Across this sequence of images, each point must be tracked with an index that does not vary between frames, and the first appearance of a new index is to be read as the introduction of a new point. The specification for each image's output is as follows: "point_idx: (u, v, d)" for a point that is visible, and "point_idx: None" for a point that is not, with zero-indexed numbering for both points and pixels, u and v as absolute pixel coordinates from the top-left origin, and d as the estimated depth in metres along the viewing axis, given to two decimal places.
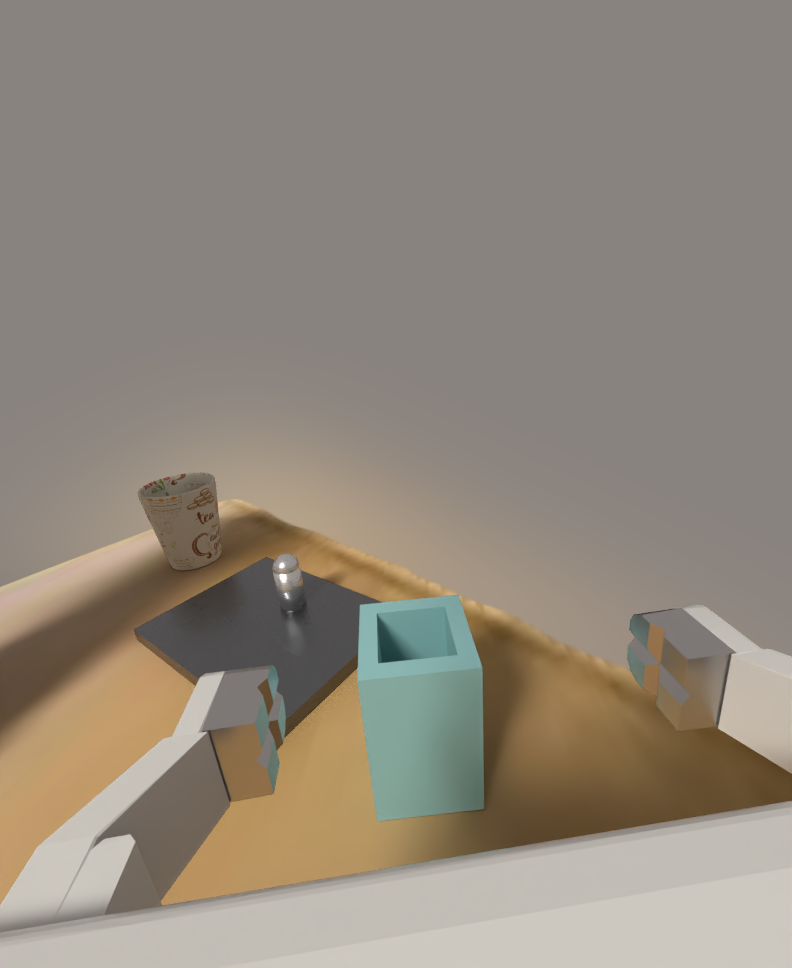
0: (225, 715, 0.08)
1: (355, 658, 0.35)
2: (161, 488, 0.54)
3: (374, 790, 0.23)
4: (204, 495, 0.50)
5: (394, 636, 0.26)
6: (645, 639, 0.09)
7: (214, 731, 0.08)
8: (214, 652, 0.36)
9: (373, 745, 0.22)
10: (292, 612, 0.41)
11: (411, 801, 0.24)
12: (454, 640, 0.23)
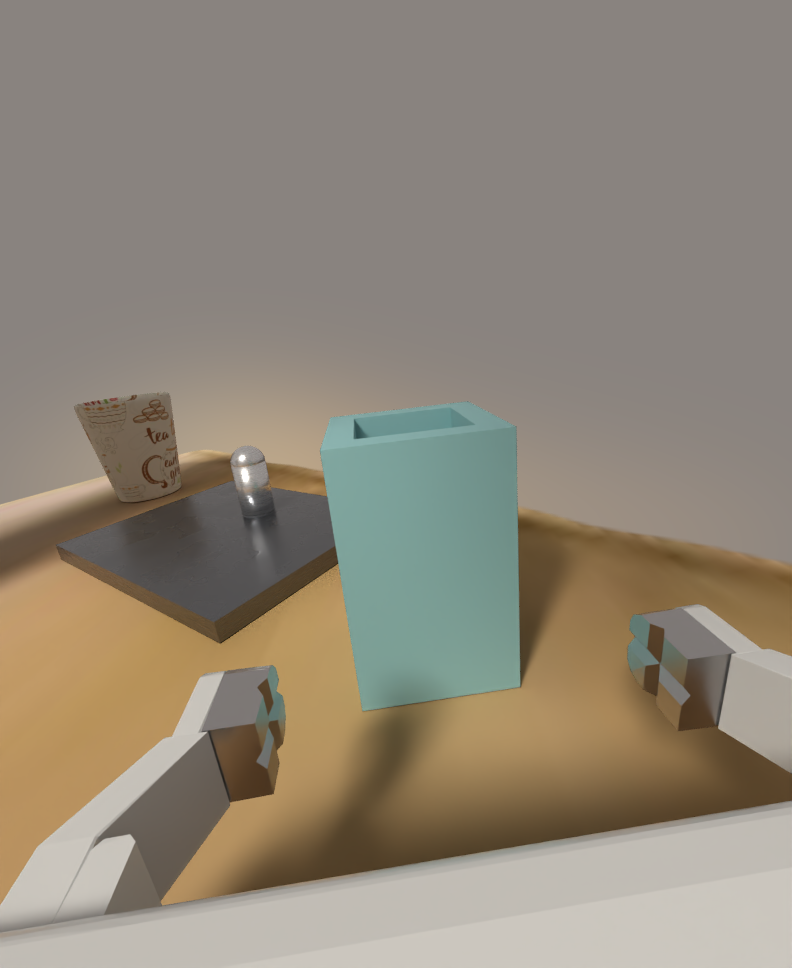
0: (225, 715, 0.08)
1: (335, 549, 0.27)
2: None
3: (356, 656, 0.15)
4: (155, 408, 0.42)
5: None
6: (645, 639, 0.09)
7: (214, 731, 0.08)
8: (153, 555, 0.28)
9: (350, 573, 0.14)
10: (257, 518, 0.33)
11: (412, 674, 0.16)
12: (468, 419, 0.15)
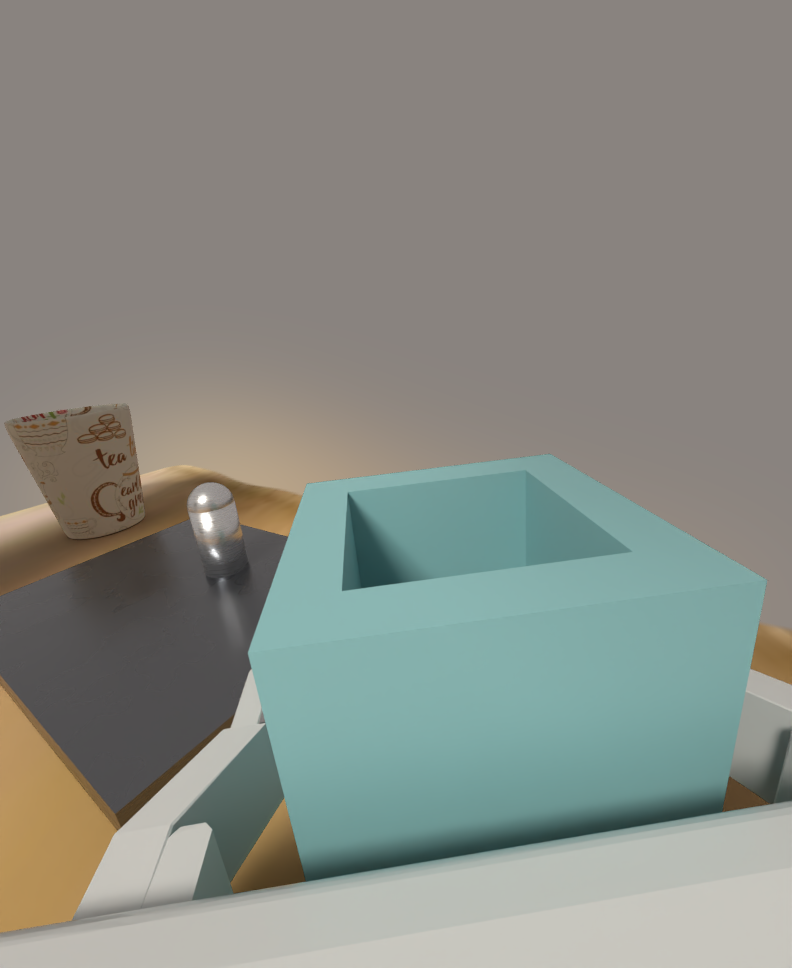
0: None
1: None
2: None
3: None
4: (107, 424, 0.34)
5: (396, 558, 0.10)
6: None
7: None
8: (68, 645, 0.20)
9: None
10: (223, 579, 0.25)
11: None
12: (594, 522, 0.07)
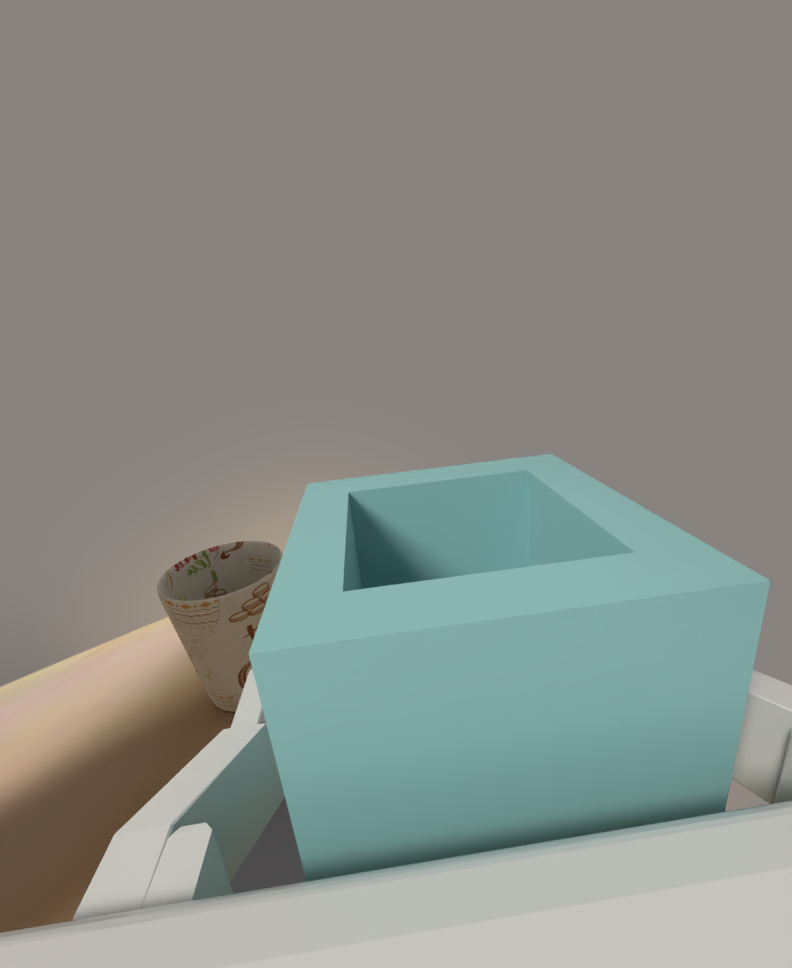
0: None
1: None
2: (204, 565, 0.34)
3: None
4: (260, 595, 0.28)
5: (397, 558, 0.10)
6: None
7: None
8: None
9: None
10: None
11: None
12: (596, 522, 0.07)
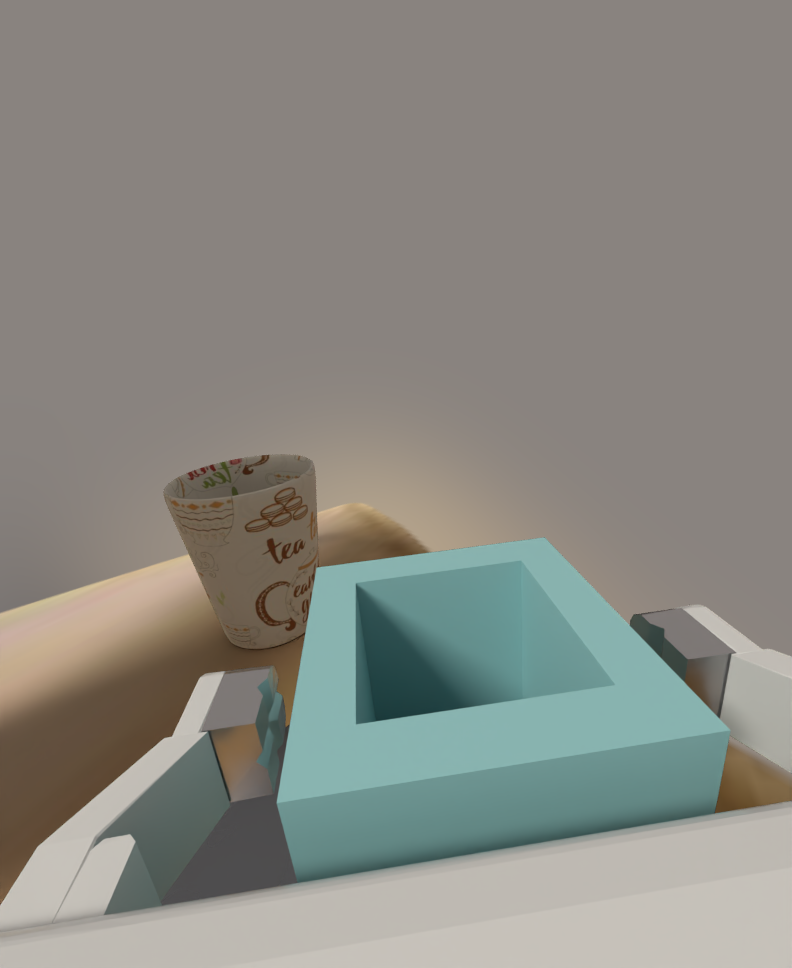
0: (225, 715, 0.08)
1: None
2: (224, 479, 0.28)
3: None
4: (284, 503, 0.23)
5: (400, 639, 0.11)
6: (645, 639, 0.09)
7: (214, 731, 0.08)
8: None
9: None
10: None
11: None
12: (582, 639, 0.08)
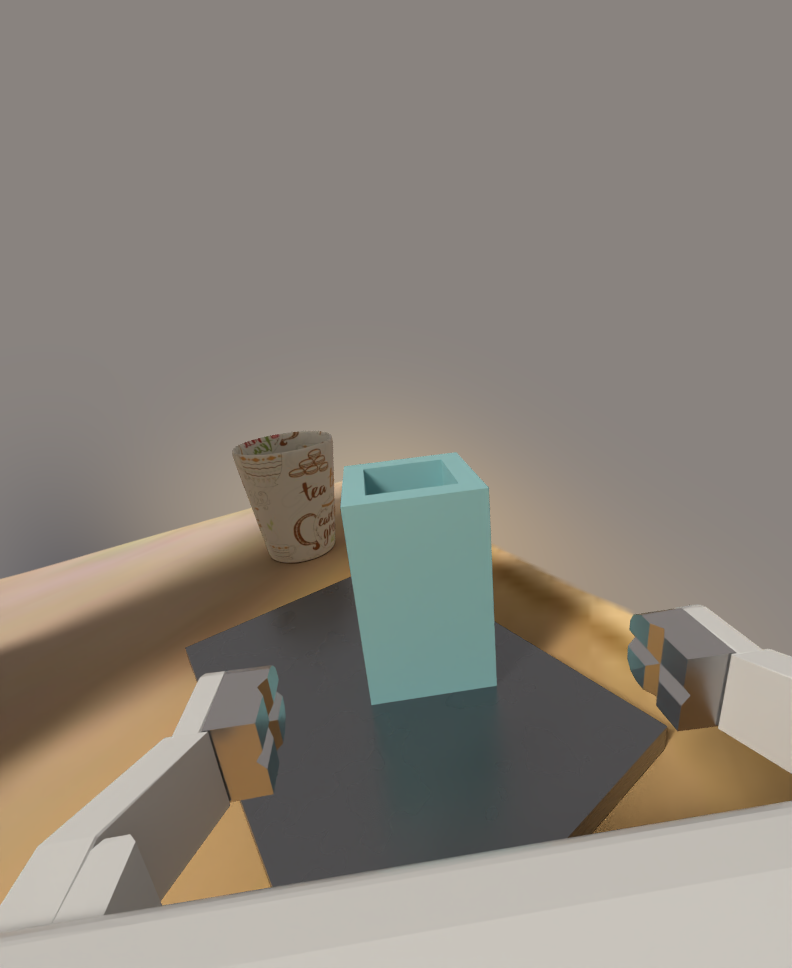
0: (225, 715, 0.08)
1: None
2: (267, 448, 0.40)
3: (366, 661, 0.20)
4: (314, 459, 0.35)
5: None
6: (645, 639, 0.09)
7: (214, 731, 0.08)
8: None
9: (362, 598, 0.19)
10: None
11: (410, 675, 0.20)
12: (454, 476, 0.19)
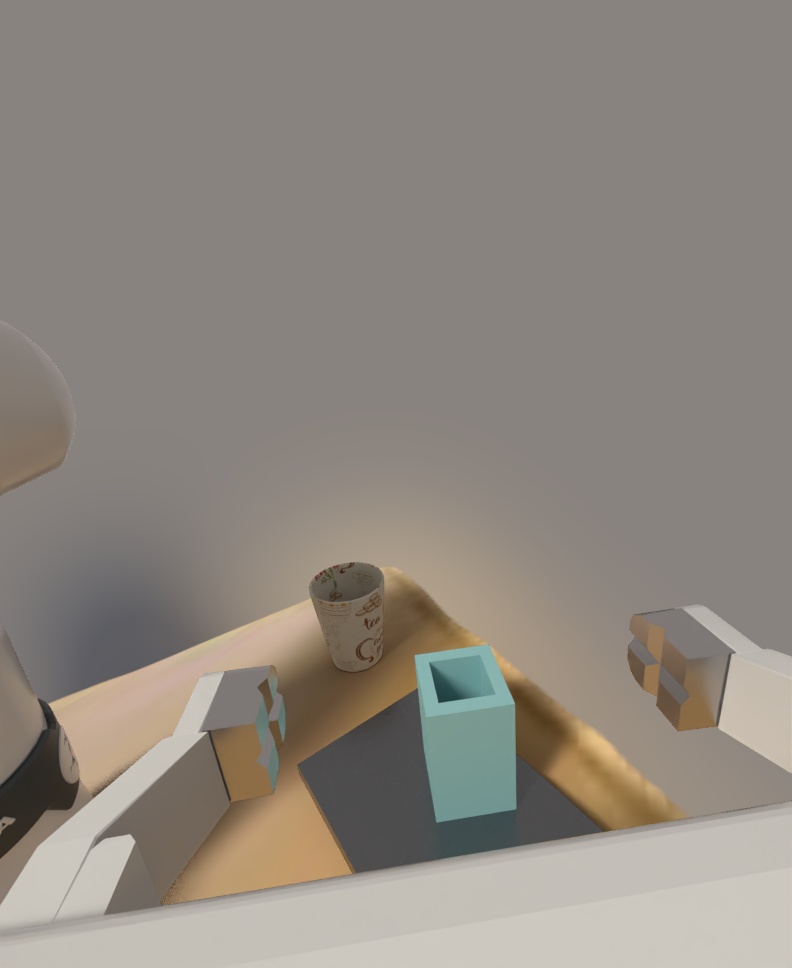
0: (225, 715, 0.08)
1: None
2: (330, 577, 0.52)
3: (435, 798, 0.31)
4: (373, 600, 0.46)
5: (441, 678, 0.34)
6: (645, 639, 0.09)
7: (214, 731, 0.08)
8: (380, 840, 0.31)
9: (435, 764, 0.30)
10: None
11: (462, 805, 0.32)
12: (491, 682, 0.31)
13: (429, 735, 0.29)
